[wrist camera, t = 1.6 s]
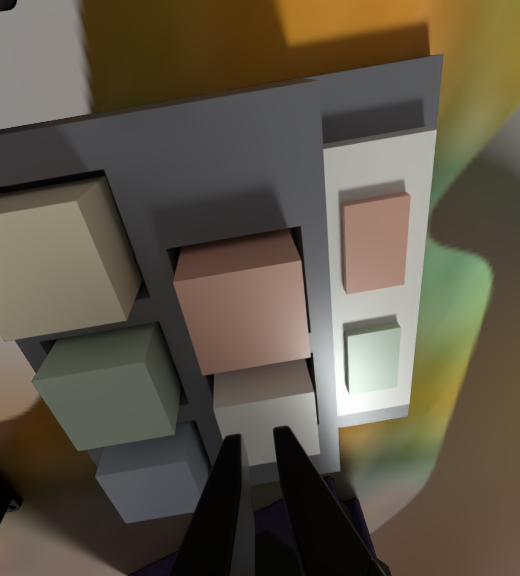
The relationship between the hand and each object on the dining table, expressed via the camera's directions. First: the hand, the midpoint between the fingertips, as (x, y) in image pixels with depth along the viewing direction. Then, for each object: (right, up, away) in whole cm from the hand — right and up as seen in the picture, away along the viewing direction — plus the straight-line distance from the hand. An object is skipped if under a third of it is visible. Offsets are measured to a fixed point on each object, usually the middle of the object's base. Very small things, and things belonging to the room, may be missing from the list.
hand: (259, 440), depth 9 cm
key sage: (-7, 0, +9) cm, 11 cm away
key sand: (-7, +6, +5) cm, 11 cm away
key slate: (-6, -5, +12) cm, 14 cm away
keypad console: (-1, +3, +11) cm, 11 cm away
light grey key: (0, -1, +10) cm, 10 cm away
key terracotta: (-1, +4, +7) cm, 8 cm away
